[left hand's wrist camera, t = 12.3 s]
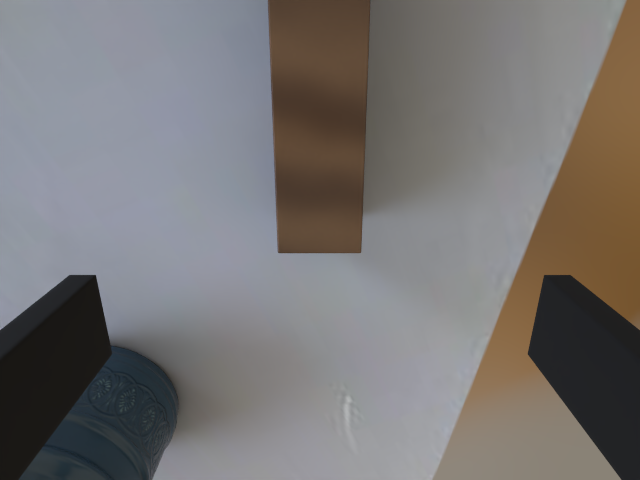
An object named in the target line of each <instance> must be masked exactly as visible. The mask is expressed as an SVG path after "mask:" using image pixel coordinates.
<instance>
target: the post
mask: <svg viewBox="0 0 640 480" xmlns="http://www.w3.org/2000/svg"><path fill="white" fill-rule="evenodd" d="M268 14H269V39H270V65H271V90H272V115H273V140H274V166H275V191H276V216H277V242H278V253H361V242H362V215H363V188H364V161H365V133H366V106H367V79H368V52H369V24H370V0H268Z"/></svg>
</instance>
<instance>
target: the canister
mask: <svg viewBox="0 0 640 480" xmlns="http://www.w3.org/2000/svg"><path fill="white" fill-rule="evenodd" d="M111 351H112V355H111V356H110V358H109V359H108V360H107V362H106V363H105V364H104V366H103V367H102V368H101V370H100V371H99V372H98V374H97V375H96V376H95V378H94V379H93V380H92V382H91V383H90V384H89V386H88V387H87V388H86V390H85V391H84V393H83V394H82V395H81V397H80V398H79V399H78V401H77V402H76V403H75V405H74V406H73V407H72V409H71V410H70V411H69V413H68V414H67V415H66V417H65V418H64V419H63V421H62V422H61V423H60V425H59V426H58V427H57V429H56V430H55V431H54V433H53V434H52V435H51V437H50V438H49V439H48V441H47V442H46V443H45V445H44V446H43V447H42V449H41V450H40V451H39V453H38V454H37V455H36V457H35V458H34V459H33V461H32V462H31V463H30V465H29V466H28V467H27V469H26V470H25V471H24V473H23V474H22V476H21V477H20V478H19V480H152V479H153V476H154V474H155V472H156V469H157V467H158V464H159V462H160V460H161V457H162V455H163V452H164V450H165V449H166V448H167V446H168V445H169V443H170V441H171V438H172V436H173V433H174V431H175V428H176V423H177V415H178V398H177V394H176V391H175V389H174V387H173V385H172V383H171V381H170V380H169V378H168V377H167V376H166V374H165V373H164V372H163V371H162V370H161V369H160V368H159V367H158V366H157V365H155V364H154V363H153V362H151V361H150V360H148V359H147V358H145V357H143V356H141V355H139V354H137V353H135V352H133V351H130V350H127V349H123V348H119V347H114V346H111Z"/></svg>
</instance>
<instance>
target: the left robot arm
mask: <svg viewBox="0 0 640 480" xmlns="http://www.w3.org/2000/svg"><path fill="white" fill-rule="evenodd" d="M111 355H112V351H111V346H110V341H109V336H108V331H107V327H106V322H105V317H104V312H103V307H102V303H101V298H100V293H99V288H98V284H97V279H96V275H69V276H68V277H67V278H65V279H64V280H63V281H62V282H60V283H59V284H58V285H57V286H55V287H54V288H53V289H52V290H50V291H49V292H48V293H47V294H45V295H44V296H43V297H42V298H40V299H39V300H38V301H36V302H35V303H34V304H33V305H31V306H30V307H29V308H28V309H26V310H25V311H24V312H23V313H21V314H20V315H19V316H18V317H16V318H15V319H14V320H13V321H11V322H10V323H9V324H8V325H6V326H5V327H4V328H3V329H1V330H0V480H19V478H20V477H21V476H22V474H23V473H24V471H25V470H26V469H27V467H28V466H29V465H30V463H31V462H32V461H33V459H34V458H35V457H36V455H37V454H38V453H39V451H40V450H41V449H42V447H43V446H44V445H45V443H46V442H47V441H48V439H49V438H50V437H51V435H52V434H53V433H54V431H55V430H56V429H57V427H58V426H59V425H60V423H61V422H62V421H63V419H64V418H65V417H66V415H67V414H68V413H69V411H70V410H71V409H72V407H73V406H74V405H75V403H76V402H77V401H78V399H79V398H80V397H81V395H82V394H83V393H84V391H85V390H86V388H87V387H88V386H89V384H90V383H91V382H92V380H93V379H94V378H95V376H96V375H97V374H98V372H99V371H100V370H101V368H102V367H103V366H104V364H105V363H106V362H107V360H108V359H109V358H110V356H111ZM528 355H529V356H530V358H531V359H532V360H533V362H534V363H535V364H536V366H537V367H538V368H539V370H540V371H541V372H542V374H543V375H544V376H545V378H546V379H547V380H548V382H549V383H550V384H551V386H552V387H553V388H554V390H555V391H556V393H557V394H558V395H559V397H560V398H561V399H562V401H563V402H564V403H565V405H566V406H567V407H568V409H569V410H570V411H571V413H572V414H573V415H574V417H575V418H576V419H577V421H578V422H579V423H580V425H581V426H582V427H583V429H584V430H585V431H586V433H587V434H588V435H589V437H590V438H591V439H592V441H593V442H594V443H595V445H596V446H597V447H598V449H599V450H600V451H601V453H602V454H603V455H604V457H605V458H606V459H607V461H608V462H609V463H610V465H611V466H612V467H613V469H614V470H615V471H616V473H617V474H618V475H619V477H620V478H621V480H640V330H639V329H637V328H636V327H635V326H634V325H632V324H631V323H630V322H629V321H627V320H626V319H625V318H624V317H622V316H621V315H620V314H619V313H617V312H616V311H615V310H613V309H612V308H611V307H610V306H609V305H607V304H606V303H605V302H603V301H602V300H601V299H600V298H598V297H597V296H596V295H595V294H593V293H592V292H591V291H590V290H588V289H587V288H586V287H585V286H583V285H582V284H581V283H580V282H578V281H577V280H576V279H575V278H573V277H572V276H571V275H544V279H543V284H542V288H541V293H540V298H539V303H538V307H537V312H536V317H535V322H534V327H533V331H532V336H531V341H530V346H529V351H528Z"/></svg>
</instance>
